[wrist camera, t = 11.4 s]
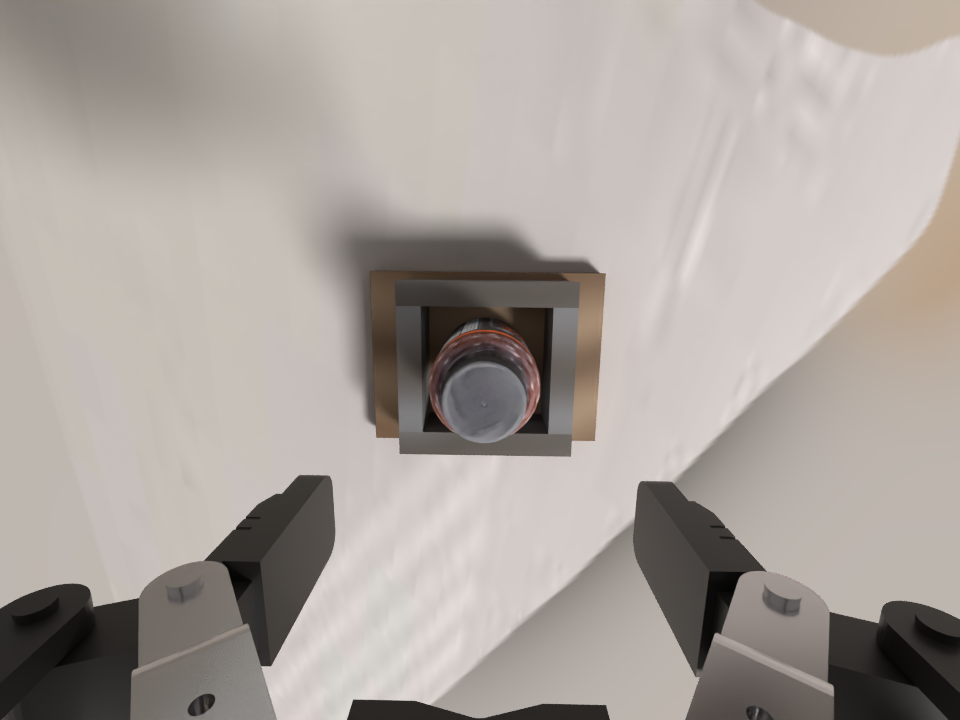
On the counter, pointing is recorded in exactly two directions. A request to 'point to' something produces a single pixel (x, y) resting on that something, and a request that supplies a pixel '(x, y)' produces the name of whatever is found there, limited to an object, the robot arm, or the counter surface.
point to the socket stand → (510, 298)
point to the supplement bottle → (484, 381)
